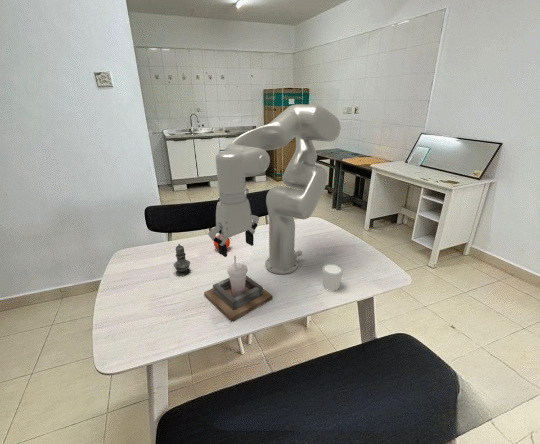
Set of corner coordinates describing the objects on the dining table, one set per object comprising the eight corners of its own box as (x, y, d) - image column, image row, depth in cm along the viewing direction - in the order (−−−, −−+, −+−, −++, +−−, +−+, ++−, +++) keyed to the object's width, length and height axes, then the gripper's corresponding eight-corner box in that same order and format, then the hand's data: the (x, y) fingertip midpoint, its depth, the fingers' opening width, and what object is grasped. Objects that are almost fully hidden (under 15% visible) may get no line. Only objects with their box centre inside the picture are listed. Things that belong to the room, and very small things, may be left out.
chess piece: (186, 277, 105) (182, 248, 100) (172, 275, 106) (167, 246, 101) (193, 268, 110) (190, 240, 106) (179, 267, 111) (175, 239, 107)
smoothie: (229, 287, 97) (226, 251, 91) (248, 287, 97) (247, 250, 91) (228, 300, 91) (225, 261, 85) (248, 299, 91) (247, 261, 86)
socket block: (243, 277, 105) (243, 267, 103) (272, 299, 94) (272, 287, 92) (204, 295, 95) (203, 284, 93) (231, 322, 84) (230, 309, 82)
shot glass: (329, 294, 96) (331, 276, 93) (317, 283, 101) (318, 266, 99) (345, 288, 99) (347, 271, 96) (332, 278, 104) (334, 261, 101)
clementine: (234, 246, 127) (233, 231, 124) (230, 253, 121) (229, 238, 118) (216, 245, 128) (215, 230, 125) (212, 252, 121) (210, 237, 119)
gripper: (249, 186, 88) (252, 236, 95) (198, 200, 78) (205, 254, 85) (265, 192, 83) (266, 244, 90) (212, 208, 73) (219, 265, 80)
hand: (237, 249), depth 88 cm, fingers open, 9 cm apart
